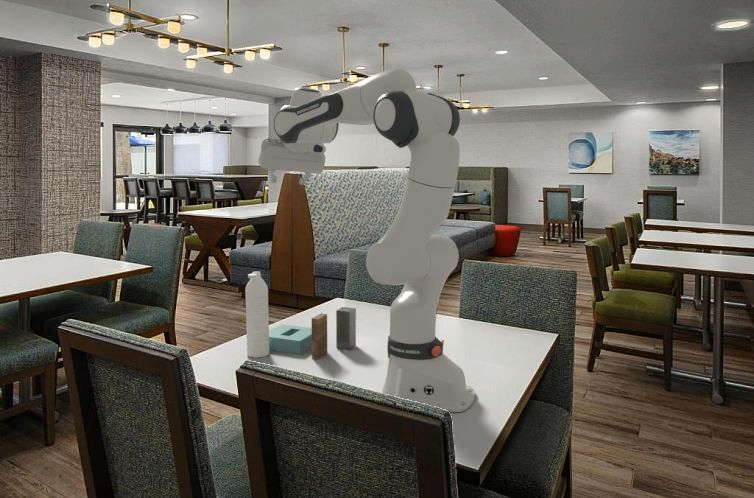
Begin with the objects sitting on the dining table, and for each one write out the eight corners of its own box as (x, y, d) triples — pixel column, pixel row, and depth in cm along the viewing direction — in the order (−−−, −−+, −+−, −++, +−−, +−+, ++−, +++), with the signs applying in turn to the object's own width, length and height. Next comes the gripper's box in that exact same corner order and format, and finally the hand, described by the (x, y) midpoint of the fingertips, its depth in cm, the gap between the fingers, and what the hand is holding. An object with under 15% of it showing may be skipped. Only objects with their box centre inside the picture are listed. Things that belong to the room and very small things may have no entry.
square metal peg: (355, 345, 168) (355, 308, 166) (349, 350, 164) (349, 311, 162) (342, 343, 169) (342, 306, 167) (336, 348, 165) (336, 310, 163)
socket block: (320, 341, 172) (320, 329, 171) (300, 354, 160) (300, 341, 159) (282, 335, 177) (281, 324, 176) (259, 348, 165) (259, 335, 164)
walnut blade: (327, 352, 161) (327, 314, 159) (318, 359, 155) (317, 319, 154) (321, 352, 162) (321, 313, 160) (312, 358, 156) (311, 318, 154)
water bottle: (250, 350, 163) (247, 269, 159) (271, 350, 162) (269, 269, 159) (242, 360, 154) (239, 275, 150) (265, 361, 154) (262, 275, 150)
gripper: (266, 141, 153) (257, 185, 159) (331, 148, 164) (320, 189, 170) (260, 133, 158) (252, 176, 164) (323, 141, 168) (314, 181, 174)
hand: (287, 183), depth 167 cm, fingers open, 8 cm apart
